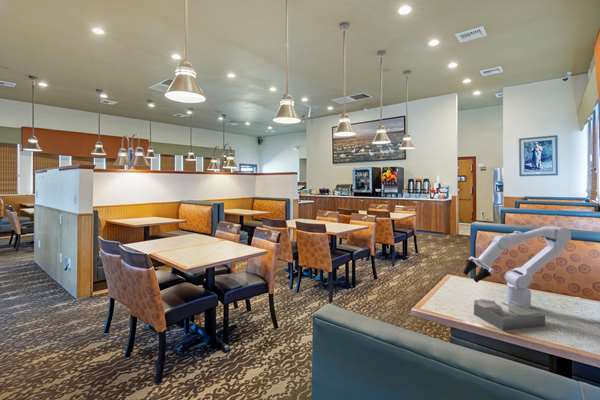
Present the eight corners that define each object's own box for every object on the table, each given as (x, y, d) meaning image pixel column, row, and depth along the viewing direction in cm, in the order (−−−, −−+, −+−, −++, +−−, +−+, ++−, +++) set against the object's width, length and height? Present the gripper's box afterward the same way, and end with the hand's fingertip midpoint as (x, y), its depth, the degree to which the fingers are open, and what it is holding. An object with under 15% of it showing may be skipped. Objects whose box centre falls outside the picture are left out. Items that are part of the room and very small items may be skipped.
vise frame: (512, 310, 142) (512, 301, 142) (544, 325, 127) (545, 315, 127) (473, 314, 138) (474, 304, 138) (502, 330, 123) (503, 319, 123)
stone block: (480, 319, 138) (505, 316, 136) (478, 308, 138) (503, 305, 136) (471, 309, 149) (494, 306, 147) (469, 299, 149) (492, 296, 147)
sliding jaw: (512, 310, 142) (512, 301, 142) (539, 322, 129) (539, 312, 129) (508, 310, 142) (508, 301, 141) (534, 323, 129) (535, 313, 129)
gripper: (473, 246, 154) (455, 266, 155) (495, 257, 140) (474, 280, 141) (481, 253, 156) (463, 274, 157) (504, 266, 142) (484, 288, 143)
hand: (469, 277), depth 149 cm, fingers open, 7 cm apart
